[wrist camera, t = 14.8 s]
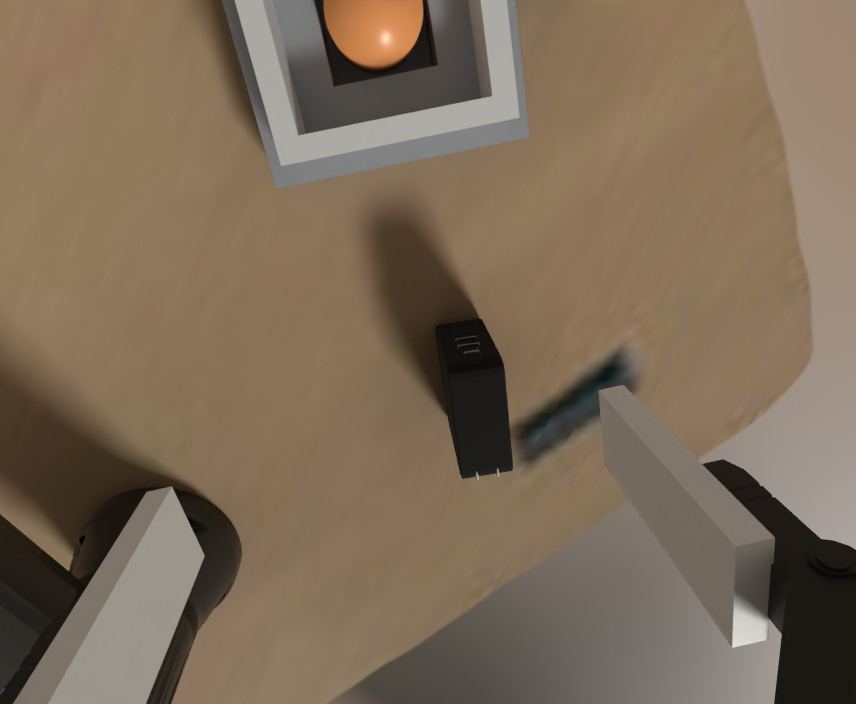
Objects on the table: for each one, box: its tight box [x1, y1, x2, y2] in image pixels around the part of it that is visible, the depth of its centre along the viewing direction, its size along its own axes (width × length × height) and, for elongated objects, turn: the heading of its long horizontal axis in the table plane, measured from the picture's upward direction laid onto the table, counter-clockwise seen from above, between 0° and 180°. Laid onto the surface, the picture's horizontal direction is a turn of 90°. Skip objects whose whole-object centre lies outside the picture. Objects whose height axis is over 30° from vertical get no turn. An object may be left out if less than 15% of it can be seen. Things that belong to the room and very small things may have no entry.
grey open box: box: [222, 0, 530, 189], centre depth 34 cm, size 18×18×9 cm
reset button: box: [324, 0, 423, 74], centre depth 35 cm, size 6×6×5 cm
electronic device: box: [436, 319, 513, 480], centre depth 45 cm, size 4×10×10 cm, turn 8°
